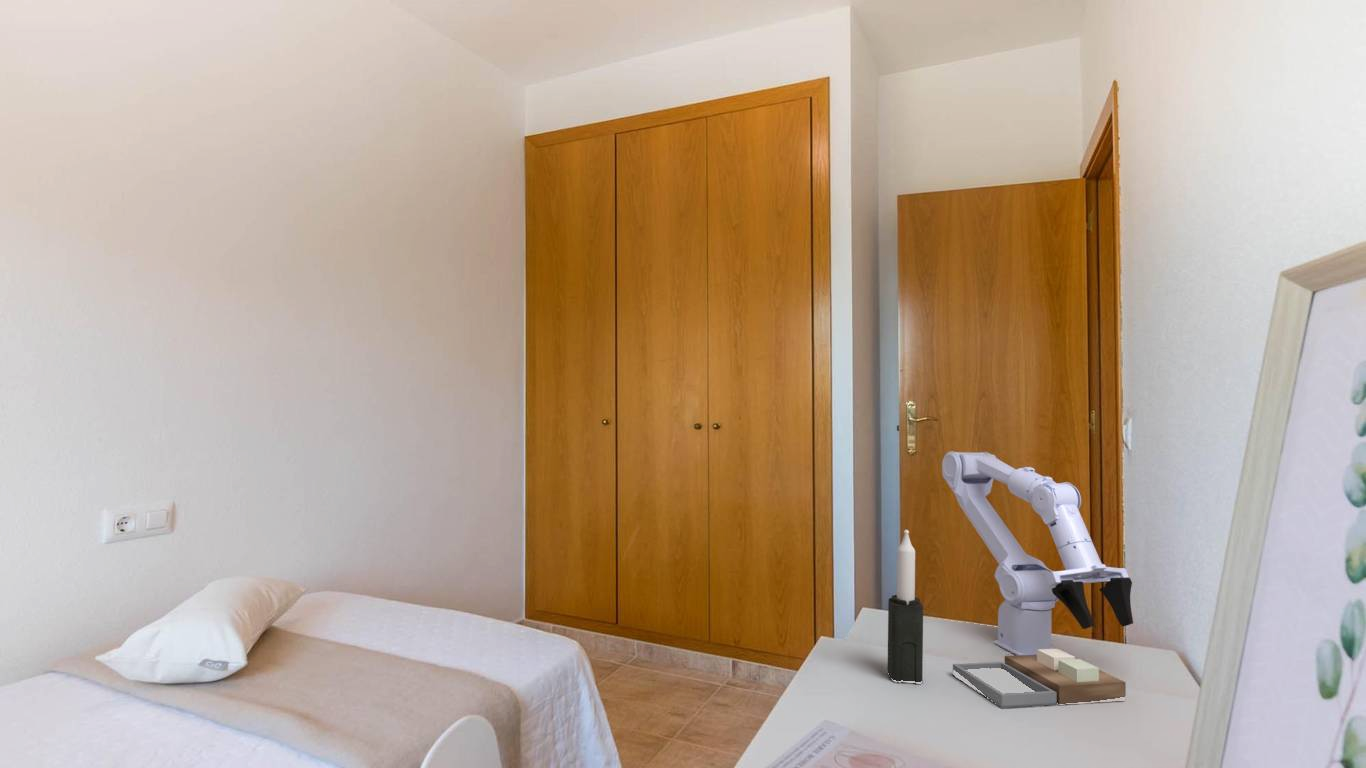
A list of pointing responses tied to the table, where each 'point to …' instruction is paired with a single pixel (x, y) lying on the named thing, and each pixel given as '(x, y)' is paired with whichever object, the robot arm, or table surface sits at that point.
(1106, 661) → the table surface
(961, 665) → the tray
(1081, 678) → the sage tile
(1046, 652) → the cream tile
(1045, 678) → the walnut board
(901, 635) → the candle
